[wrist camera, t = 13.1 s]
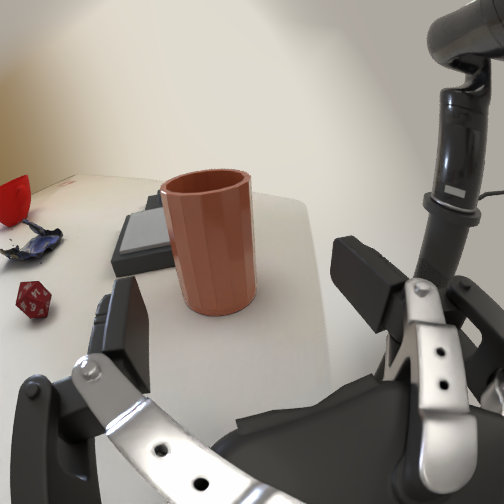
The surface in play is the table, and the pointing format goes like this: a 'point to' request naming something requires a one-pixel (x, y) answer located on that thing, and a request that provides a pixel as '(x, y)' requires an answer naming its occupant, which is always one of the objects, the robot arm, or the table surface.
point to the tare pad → (154, 201)
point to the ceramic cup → (15, 201)
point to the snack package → (35, 243)
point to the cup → (212, 238)
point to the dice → (33, 299)
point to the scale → (143, 244)
